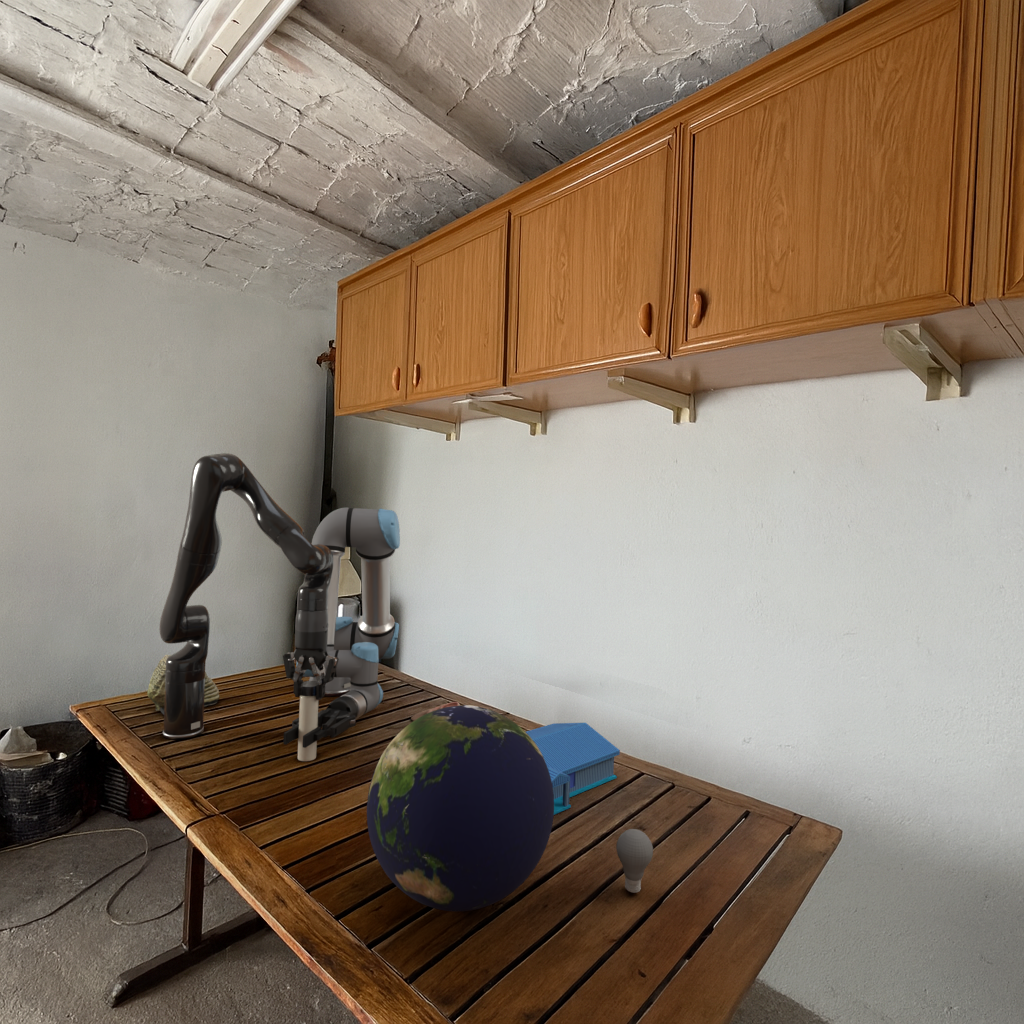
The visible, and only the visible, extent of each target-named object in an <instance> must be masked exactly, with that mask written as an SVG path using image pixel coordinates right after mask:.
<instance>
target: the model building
mask: <svg viewBox="0 0 1024 1024" xmlns="http://www.w3.org/2000/svg"><path fill="white" fill-rule="evenodd" d="M525 732H526V733H527V734H528V735H529V736H530V737H531V739H532V740H533V741H534V742H535V744H536V745H537V747H538V748H539V750H540V752H541V753H542V755H543V757H544V760H545V763H546V765H547V767H548V770H549V774H550V777H551V782H552V786H553V794H554V816H555V815H557V814H559V813H562V812H563V811H566V810H569V809H571V808H572V805H571V804H570V798H572V797H575V796H577V795H580V794H582V793H585V792H587V791H589V790H591V789H594V788H597V787H599V786H601V785H603V784H605V783H609V782H610V781H613V780H615V779H617V778H618V776H617V775H616V774H614V771H615V770H614V768H615V767H614V765H615V757H617V756H620V754H621V750H620V749H619V748H618V747H617V746H616V745H614V744H613V743H612V742H611V741H610V740H607V738H605V737H604V736H603V735H601V734H600V733H599V732H598V731H597V730H596V729H594V728H593V727H592V726H591V725H589V724H588V723H587V722H560V723H559V722H558V723H555V722H554V723H550V724H546V725H544V726H543V725H542V726H540V727H537V728H533V729H530V730H526V731H525Z"/></svg>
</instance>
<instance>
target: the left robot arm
mask: <svg viewBox="0 0 1024 1024" xmlns="http://www.w3.org/2000/svg"><path fill="white" fill-rule="evenodd" d="M265 489H266V488H264V487H263V486H262V484H261V483H260V482H259V481H258V479H257V478H256V476H254V473H252V471H251V470H250V469H249V468H248V466H247V465H246V464H245V462H243V460H241V458H240V457H239V456H237V455H235V454H233V453H227V452H224V453H222V452H221V453H215V454H207V455H204V456H201V457H199V458H198V459H197V460H196V461H195V464H194V465H193V468H192V472H191V479H190V487H189V498H188V507H187V512H186V517H185V522H184V527H183V531H182V536H181V539H180V544H179V548H178V552H177V558H176V562H175V567H174V571H173V572H174V573H173V577H172V581H171V585H170V588H169V591H168V594H167V596H166V600H165V604H164V606H163V608H162V612H161V616H160V619H159V629H158V630H159V636H160V638H161V641H163V642H164V643H165V644H170V645H172V644H183V643H186V644H185V645H184V646H183V647H182V648H181V649H179V650H178V651H176V652H174V653H172V654H169V655H170V656H169V657H168V658H167V660H166V674H165V705H164V708H160V712H161V714H162V715H163V730H162V737H164V738H166V739H169V740H185V739H190V738H191V739H192V738H194V737H197V736H199V735H202V734H203V732H204V730H205V729H204V727H205V725H204V722H205V721H204V718H205V706H204V693H205V672H206V664H207V663H206V662H207V658H208V653H209V642H210V640H209V639H210V631H211V617H210V613H209V610H208V609H207V607H206V606H205V605H203V604H192V605H191V604H190V605H188V603H189V601H190V600H191V597H192V596H193V595H194V593H195V592H196V591H197V589H198V588H200V587H201V585H202V584H203V583H204V582H205V581H206V580H207V579H208V578H209V577H210V576H211V575H212V574H213V572H214V570H216V568H217V566H218V563H219V559H220V554H221V550H222V544H223V539H222V534H221V529H220V527H219V525H218V521H217V511H218V506H219V502H220V498H221V495H222V493H224V492H228V491H231V492H233V493H234V494H235V495H237V496H238V497H239V498H240V499H242V500H243V501H244V502H245V503H246V505H247V507H248V508H249V509H250V511H251V514H252V516H253V518H254V521H255V523H256V525H257V526H258V528H259V529H260V530H261V532H262V533H263V534H264V535H265V536H266V537H268V539H269V540H271V541H272V542H273V543H274V544H275V545H276V546H277V547H278V548H280V550H281V552H282V553H283V555H284V556H285V557H286V559H287V560H288V562H289V563H290V564H291V565H292V567H293V568H294V569H295V570H296V571H298V572H299V573H301V574H303V575H304V579H303V583H302V584H301V585H300V586H299V588H298V590H297V600H296V601H297V604H296V605H297V606H296V615H295V629H294V647H295V649H294V650H293V651H288V652H286V653H283V654H282V660H283V665H284V671H285V677H286V678H287V679H291V680H292V681H293V695H294V697H295V698H300V695H299V694H298V686H299V683H301V682H304V679H303V678H304V677H303V675H304V673H305V671H306V670H307V669H308V670H311V671H313V674H314V676H315V677H316V680H317V683H318V684H317V685H316V700H319V701H320V700H322V699H324V697H326V696H325V685H326V683H328V682H330V681H332V680H333V679H334V675H335V672H336V668H337V664H338V660H339V659H338V657H331V656H328V653H327V650H326V649H327V641H328V609H327V608H328V588H329V585H330V581H331V576H332V571H333V564H334V561H333V554H332V552H331V550H330V549H329V548H328V547H327V546H325V545H322V544H316V545H312V542H310V541H309V540H308V538H306V536H305V531H304V528H303V527H302V526H301V525H300V524H299V523H298V522H297V521H296V520H295V519H293V518H292V517H291V515H289V514H288V513H287V512H286V511H285V510H284V509H283V508H282V507H281V506H280V505H279V504H278V503H277V502H276V501H275V500H274V499H273V498H272V496H271V495H270V494H269V493H268V491H266V490H265ZM295 660H296V661H295ZM325 661H327V665H328V667H327V671H326V674H325V667H324V662H325ZM295 662H296V663H295ZM297 662H298V664H297ZM295 664H297V667H296V665H295ZM318 669H319V670H318Z"/></svg>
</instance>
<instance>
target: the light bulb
mask: <svg viewBox="0 0 1024 1024" xmlns="http://www.w3.org/2000/svg"><path fill="white" fill-rule="evenodd" d="M615 849H616V854H617V857H618V859H619V861H620V863H621V865H622V867H623V873H624V874H623V875H624V876H625V878H624V888H625V890H627V891H628V892H630V893H634V894H635V893H639V892H640V891H641V889H642V887H641V886H642V879H643V877H644V875H645V871H646V868H647V867H648V866H649V864H650V863H651V861H652V859H653V855H654V847H653V843H652V841H651V838H649V836H648V835H647V834H646V833H645V832H643V831H642V830H641V829H636V828H629V829H627V830H625V831H623V832H622V833H621V834H620V835H619V837H618V839H617V841H616V847H615Z"/></svg>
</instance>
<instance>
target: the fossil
mask: <svg viewBox="0 0 1024 1024" xmlns="http://www.w3.org/2000/svg"><path fill="white" fill-rule="evenodd" d="M170 655H171V654H165V655H164V656H163V657H162V658H161V659H160V660H159V662H158V663H157V666H156V667H155V669H154V670H153V672H152V675H151V677H150V680H149V684H148V688H147V697H148V699H149V700H150V701H152V703H153V704H154V706H155V711H158V712H159V711H160V708H164V705H165V674H166V660H167V658H168V657H169V656H170ZM220 698H221V696H220V690H219V688H218V686H217V685H216V683H215V682H214V681H213V679H212V678H211V677H209V675H208V674H207V672H206V671H205V693H204V707H207V706H213V705H215V704H217V703H218V701H219V699H220ZM160 712H161V711H160Z"/></svg>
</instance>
